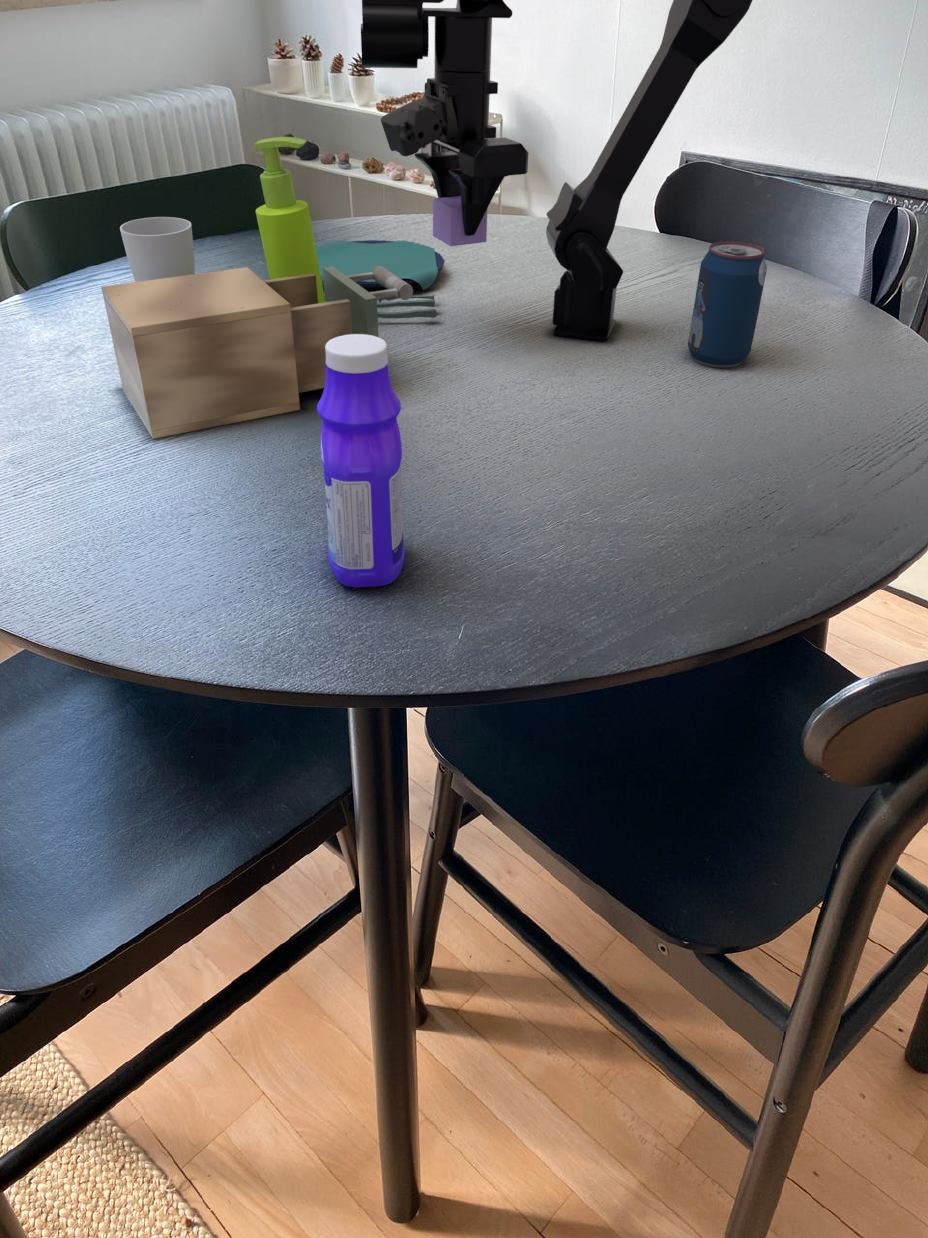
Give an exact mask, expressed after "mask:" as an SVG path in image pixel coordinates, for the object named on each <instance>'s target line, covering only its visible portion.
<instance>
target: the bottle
mask: <svg viewBox="0 0 928 1238" xmlns="http://www.w3.org/2000/svg"><path fill="white" fill-rule="evenodd" d="M325 351H326V381H325V388H323V392H322V394H321V397H320V399H319V400H318V403H317V406H316V411H317V414H318V416H319V417H320V419H321V420H322V423H321V429H320V430H321V431H320V458H321V462H322V466H323V477H324V488H325V503H326V517H327V518H326V519H327V521H326V522H327V535H328V538H327V539H328V548H327V556H328V557H327V558H328V563H329V566H330V569H331V572H332V573H333V576H334V577H335V579H336V580H337V582H339V583H340V584H342V585H343V586H346V587H351V588H375V587H383V586H387V585H390V584H392V583H393V582H395V580H396V579H398V577H399V575H400V574H401V572H402V568H403V565H404V561H405V541H404V523H403V519H404V518H403V494H402V493H403V492H402V457H403V450H402V449H403V448H402V447H403V446H402V438H401V431H400V427H399V423H398V419H397V418H398V416H399V414H400V412H401V411H402V404H401V400H400V398H398V396H397V394H396V393H395V391H394V388H393V385H392V383H391V382H392V381H391V376H390V371H389V359H388V344H387V342H386V341H385V340H384V339H383V338H381V337H379V336H378V337H376V336H372V335H366V334H349V335H343V336H339V337H336V338H333V339H331V340H329V341H328V342H327V343H326V345H325Z"/></svg>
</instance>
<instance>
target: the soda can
mask: <svg viewBox="0 0 928 1238" xmlns="http://www.w3.org/2000/svg"><path fill="white" fill-rule="evenodd" d="M767 271H768V266H767V262H766V260H765V249H764V248H763V247H762V246H760V245H757V244H755V243H750V242H745V241H734V240H726V241H725V240H724V241H717V242H713V243H711V244H709V246H708V251H707V253H706V254H705V256H703V258H702V260H701V261H700V266H699V273H698V278H697V284H696V290H695V297H694V302H693V308H692V309H693V310H692V316H691V323H690V329H689V334H688V340H687V347H688V350H689V353H690V355H691V358H692V359H693V360H694V361H695V362H696V363H698V364H701V365H703V366H706V367H711V368H723V369H724V368H728V369H729V368H733V367H738V366H740V365H741V364H742V363H743V362H744V361H745V360H746V358H747V357H748V356H749V355H750V354H751V351H752V346H753V342H754V337H755V333H756V332H755V331H756V326H757V323H758V317H759V311H760V307H761V301H762V297H763V292H764V286H765V283H766V282H765V281H766V277H767V276H766V275H767Z"/></svg>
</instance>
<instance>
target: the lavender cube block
mask: <svg viewBox="0 0 928 1238" xmlns="http://www.w3.org/2000/svg"><path fill="white" fill-rule="evenodd" d="M488 209H489V207H488V208H487V210H486V212H485V214H484V216H483V218H482V220H481V222H480V225H479V227H478V229H477V231H476V233H475V234H474V235H471V236H466V235H465V233H464V226H463V217H462V205H461V196H455V197H445V198H438V197H437V198H433V199H432V237H434V238H436V239H437V240H439V241H441V242H442V243H444V244H446V245H447V246H449V247H458V246H465V245H474V244H481V243H487V234H488V233H487V232H488Z"/></svg>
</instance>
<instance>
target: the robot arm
mask: <svg viewBox="0 0 928 1238" xmlns="http://www.w3.org/2000/svg"><path fill="white" fill-rule="evenodd" d="M444 1H445V0H361V15H362V16H361V17H362V18H361V20H362V23H360V47H361V67H362V68H368V69H369V68H370V69H418V65H419V64H418V61H419V60H424V58H428V57H429V47H430V45H429V44H430V43H429V40H430V37H429V31H430V30H429V18H434V77H431V78H429V77H428V78H426V82H424V92H423V93H424V94H423V96H422V97H420V98H418V99H415V100H412V101H410V102H408V103H406V104H404V105H402V106H400V107H398V108H396V109H394V110H392V111H390V112H387V113H386V114H384V115H383V116H381V118H380V123H381V127H382V129H383V131H384V135H385V137H386V141H387V144H388V146H389V149H390V151H391V152H394V151H395V152H397V153H399V155H400V156H402V157H409V156H414V157H415V158H416V159H417V160H418V161H419V162H421V164H423V165H424V166H425V168H427V170H428V171H429V172H430V174H431V178H432V180H433V183H434V187H435V191H436V194H437V195H436V196H437V198H445V197H455V196H461V205H462V217H463V226H464V233H465V235H466V236H471V235H474V234H475V233H476V231H477V229H478V227H479V225H480V222H481V220H482V218H483V216H484V214H485V212H486V210H487V211H488V209H489V206H490V204H491V202H492V200H493V199H494V197H495V195H496V193H497V191H498V190H499V187H500V186H501V184H502V182H503V181H504V179H505V178H506V177H509V176H521V175H526V174H527V173H528V171H529V170H528V168H529V151H528V150H527V149H526V148H525V146H524V145H523V144H522V143H521V142H518V141H515V140H513V139H510V138H507V137H497V127H496V126H494V125H491V124H490V100H491V99H490V98H491V97H490V96H491V95H497V94H499V92H498V91H499V82H497V81H494V80H491V67H492V66H491V65H492V64H491V63H492V37H493V36H492V35H493V34H492V33H493V19H510V18H512V17H513V10H512V9H511V8H510V7H509V6H508V5H507V4H506V2H505V1H504V0H456V6H455V7H423V6H424V4H440V3H443V2H444ZM752 3H753V0H672V3H671V6H670V8H669V10H668V15H667V19H666V23H665V28H664V32H663V36H662V40H661V43H660V46H659V48H658V50H657V51H656V54H655V55H654V57H653V59H652V61H651V62H650V64H649V66H648V68H647V70H646V72H645V73H644V75H643V77H642V78H641V81H640V82H639V84H638V86H637V87H636V89H635V91H634V93H633V95H632V96H631V98H630V100H629V102H628V104H627V106H626V108H625V109H624V111H623V113H622V114H621V117H620V118H619V120H618V122H617V124H616V125H615V127H614V129H613V131H612V133H611V134H610V136H609V138H608V140H607V142H606V144H605V145H604V148H603V149H602V151H601V152H600V155H599V156H598V158H597V159H596V161H595V163H594V165H593V167H592V169H591V171H590V172H589V174H588V175H587V176H586V177H585V178H584V179H583V180H582V181H581V182H580V183H579V184H578V185H576V186H575V188H573V186H571V185H570V184H569V183H568V182H564V183H563V185H562V186H561V189H560V191H559V195H558V197H557V200H556V202H555V203H554V205H553V206H552V207H551V208H550V209H549V210H548V211H547V212H546V217H547V218H548V223H547V226H546V231H545V234H546V240H547V244H548V245H549V248H550V249H551V251H552V253H553V255H554V256H555V258H556V260H557V262H558V264H559V265H560V266H561V267H563V268H564V269H565V271H564V272H563V274H562V275H561V276H560V278H559V284H558V286H557V287H556V288H555V290H554V295H553V307H552V308H553V309H552V325H553V326H555V327H554V328H553V329H552V335H553V336H560V337H570V338H575V339H577V338H578V339H586V340H594V341H595V340H596V341H602V342H605V341H608V339H609V338H610V336H611V334H612V331H613V330H614V328H615V326H616V319H615V318H614V317H615V316H614V315H615V307H616V297H617V287H618V285H619V283H620V281H621V278H622V276H623V275H624V270H623V268H622V267H621V265H620V264H619V262H618V260H616V258H615V257H614V256H613V254H612V253H611V251H610V250H609V249H608V245H609V243H610V240H611V238H612V235H613V234H614V230H615V228H616V224H617V218H618V214H619V210H620V207H621V202H622V199H623V196H624V195H625V193H626V191H627V189H628V188H629V186H630V184H631V182H632V181H633V180H634V177H635V176H636V174H637V172H638V171H639V169H640V167H641V165H642V163H643V162H644V161H645V159H646V157H647V155H648V154H649V152H650V150H651V148H652V146H653V145H654V143H655V141H656V139H657V138H658V136H659V135H660V132H661V131H662V129H663V128H664V126H665V124H666V122H667V121H668V119H669V118H670V116H671V114H672V112H673V110H674V109H675V107H676V105H677V103H678V102H679V100H680V98H681V97H682V95H683V93H684V92H685V90H686V88H687V86H688V85H689V83H690V81H691V79H692V77H694V74H695V72H696V71H697V70H698V68H699V67H700V66H701V64H703V63H704V62H705V61H706V60H707V59H708V58H709V57H710V56H711V55H712V54H713V53H714V52H715V51H716V50H718V48H720V46H722V44H724V43H725V41H726V40H727V39H728V37H729V36H730V35H731V34H732V32H733V31H734V30H735V29H736V27H737V26H738V25H739V24H740V22H741V21H742V20H743V18H744V17H745V16H746V14H747V13H748V12H749V10H750V7H751V6H752ZM419 150H420V152H419ZM487 208H488V209H487Z"/></svg>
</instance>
